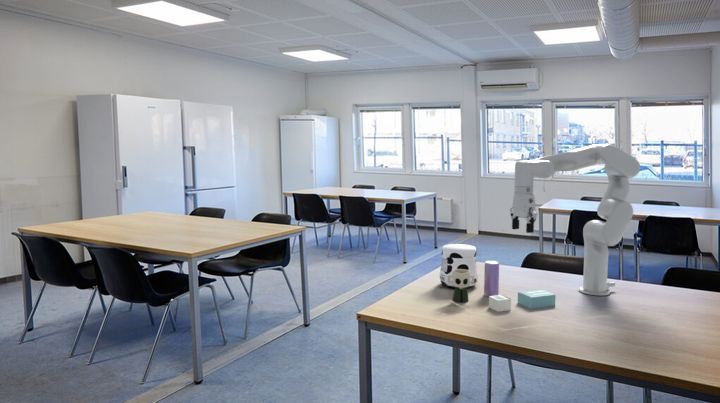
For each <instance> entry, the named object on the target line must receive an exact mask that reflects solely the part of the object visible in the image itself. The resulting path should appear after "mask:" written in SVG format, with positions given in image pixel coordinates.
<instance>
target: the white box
mask: <svg viewBox="0 0 720 403" xmlns="http://www.w3.org/2000/svg"><path fill="white" fill-rule="evenodd" d="M488 308H490V309H491V310H493V311H496V312H497V313H498V312H507V311H511V310H512V309H511V308H512V298H510V297H508V296H506V295H504V294H498V295H495V296H489V297H488Z"/></svg>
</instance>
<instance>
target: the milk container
mask: <svg viewBox="0 0 720 403" xmlns="http://www.w3.org/2000/svg"><path fill="white" fill-rule="evenodd" d="M455 269H465V270H469V271H470V275H474V283H470V284H469V286H468V287H466V288H467V289H469V288H472V287H475V286H476V285H477V283H478V280H479V274H478V270H477V247H476V246H475V245H470V244H462V243H460V244H459V243H453V244H450V243H449V244H445V245H443V246H442V248H441V267H440V271H439V280H440V283H441V285H443V286H445V287H448V288H453V289H455V286H453V284H452V283H448V275H452V271H453V270H455ZM450 280H452V277H450ZM470 281H472V277H470Z"/></svg>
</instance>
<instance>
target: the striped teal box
mask: <svg viewBox="0 0 720 403" xmlns="http://www.w3.org/2000/svg"><path fill="white" fill-rule="evenodd" d="M517 304H519V305H520V306H521V305H522V306H523V307H526V308H528V309H537V308H545V307H555V306H556V294H555V293H553V292H550V291H548V290H546V289H545V290H544V289H543V288H541V289H537V290H534V289H533V290H525V291H519V292H517Z"/></svg>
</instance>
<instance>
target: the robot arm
mask: <svg viewBox="0 0 720 403" xmlns="http://www.w3.org/2000/svg"><path fill="white" fill-rule="evenodd" d="M514 165H515V166H514V187H513V188H514V194H513V199H512V207H510V208H509V214H510V217H511V229H512V230H519V229H520V218H523V219H525V220H526V222H527V223H526V224H525V225H526V226H525V228H526V229H525V230H526V231H525V233H527V234H529V233H534V228H535V227H534V226H535V225H534V224H535V223H536V221H537V217H538V213H537V212H536V198H535V194H534V179H535V178H538V179H548V178H550V177H552V176H553V175H554V174H555V172H572V171H573V172H574V171H578V170H581V169H585V168H589V167H593V166H596V165H604V172H605V174H606V176H607V180H608V184H607V188H606V190H605V191H604V192H605V193H604V194H603V196H602V198H601V200H600V202H599V204H598V206H597V209H596V211H597V216H599V217H600V218H601V219H603V221H602V220H600V219H592V220H589V221H587V222H586V223H585V224H584V226H583V228H582V229H583V230H582V236H583V237H582V238H583V244H584V255H583V256H584V257H583V276H582V277H583V278H582V279H583V280H582V283H583V284H582V286H579V287H578V291H579V292H580V293H582V294H586V295H589V296H597V297H598V296H600V297H602V296H603V297H604V296H608V295H611V290H610V289H609V288H613V287H615V286H616V283H615V282H614V281H612V282H609V281H608V269H609V268H608V266H609V247H614V246H616V245H617V244H619V242H620V241H621V240H622V238H623V236H624V234H625V232H626V231H627V229H628V227H629V226H630V223H631V221H632V218H633V216H634V209H633V208H634V207H633V206H632V204H631V203H630V202H629V201H627V200H626V199H627V197H628V195H629V192H630V182H629V179H631V178H634V177H636V176H637V175H638V174H639V173H640V169H641V164H640V162H639V161H638V160H637V158H635V157H633V156H632V155H630V154H628V153H627V152H625V151H624V150H622V149H620V148H619V147H617V146H616V145H613V144H610V143H597V144H590V145H587V146H583V147H580V148H576V149H573V150H568V151H564V152H563V151H562V152H559V153H556V154H554V153H553V154H550V155H546V156H545V155H544V156H542V157H538V158H534V159H532V160H518V161H515V164H514ZM604 220H606V221H604Z"/></svg>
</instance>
